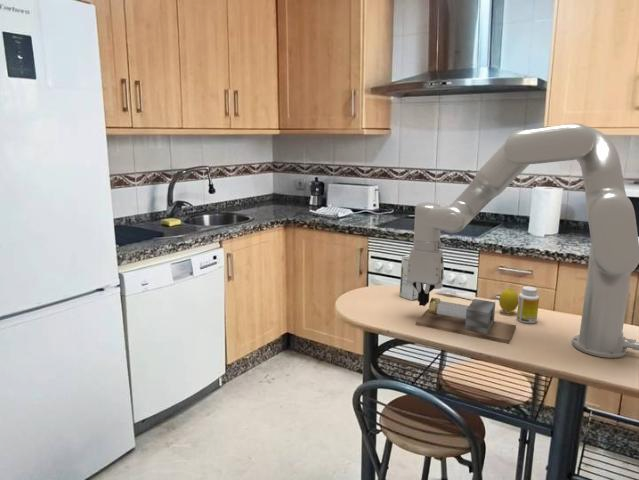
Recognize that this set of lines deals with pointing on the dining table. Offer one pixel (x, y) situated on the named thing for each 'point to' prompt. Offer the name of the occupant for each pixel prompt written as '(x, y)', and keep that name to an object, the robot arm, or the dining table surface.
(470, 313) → the bearing stand
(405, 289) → the syrup box
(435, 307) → the shaft
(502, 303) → the lemon
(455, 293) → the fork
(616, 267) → the robot arm
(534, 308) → the supplement bottle
